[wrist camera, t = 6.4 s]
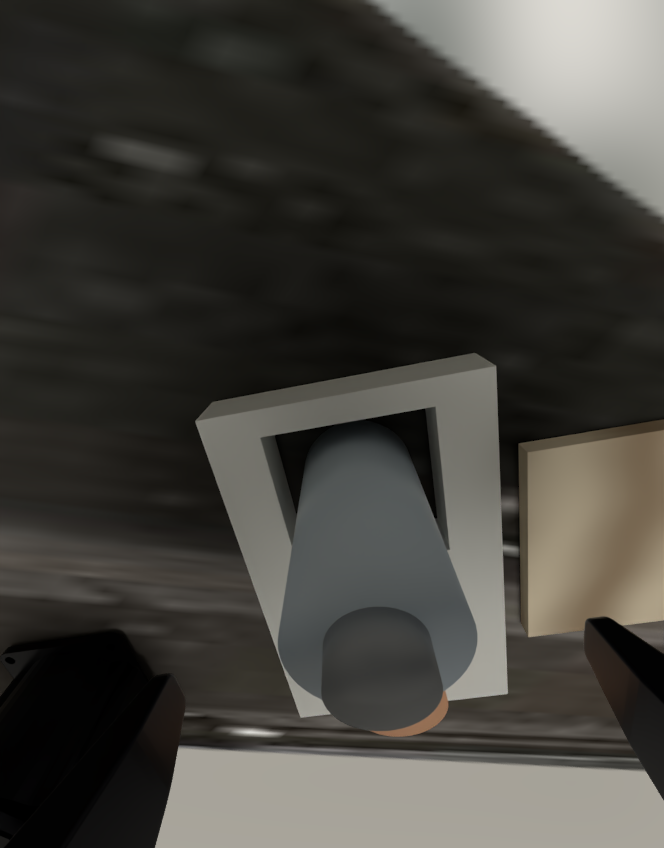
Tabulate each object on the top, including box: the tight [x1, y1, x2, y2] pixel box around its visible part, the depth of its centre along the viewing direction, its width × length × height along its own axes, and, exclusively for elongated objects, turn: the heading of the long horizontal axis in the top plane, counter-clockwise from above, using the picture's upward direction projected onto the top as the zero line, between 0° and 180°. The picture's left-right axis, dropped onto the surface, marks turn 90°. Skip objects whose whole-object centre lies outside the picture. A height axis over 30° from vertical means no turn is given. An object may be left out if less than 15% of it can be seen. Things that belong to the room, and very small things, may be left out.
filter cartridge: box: [278, 421, 477, 731], centre depth 12 cm, size 4×4×9 cm
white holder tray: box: [195, 353, 508, 717], centre depth 16 cm, size 10×16×2 cm, turn 11°
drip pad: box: [518, 419, 664, 637], centre depth 17 cm, size 7×10×1 cm
